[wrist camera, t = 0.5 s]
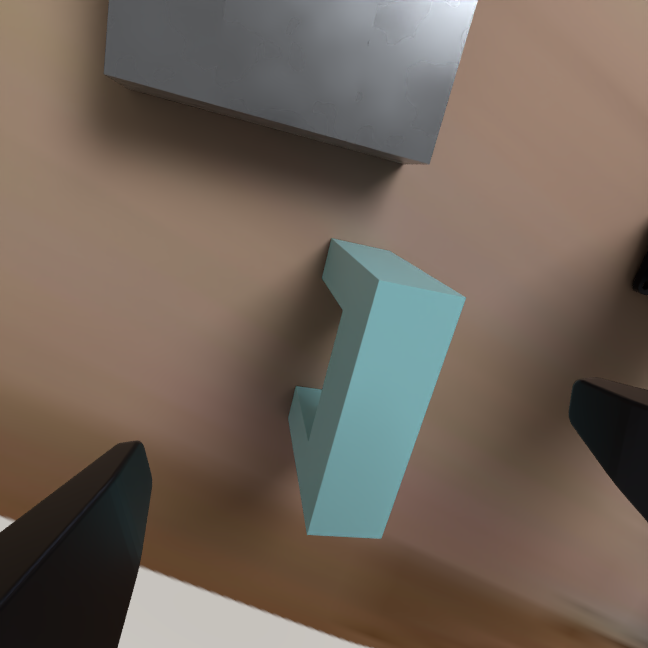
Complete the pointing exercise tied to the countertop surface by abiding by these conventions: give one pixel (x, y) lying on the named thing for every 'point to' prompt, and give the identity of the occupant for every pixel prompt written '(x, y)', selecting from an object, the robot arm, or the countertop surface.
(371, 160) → the countertop surface
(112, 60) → the rail plate
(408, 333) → the clip
